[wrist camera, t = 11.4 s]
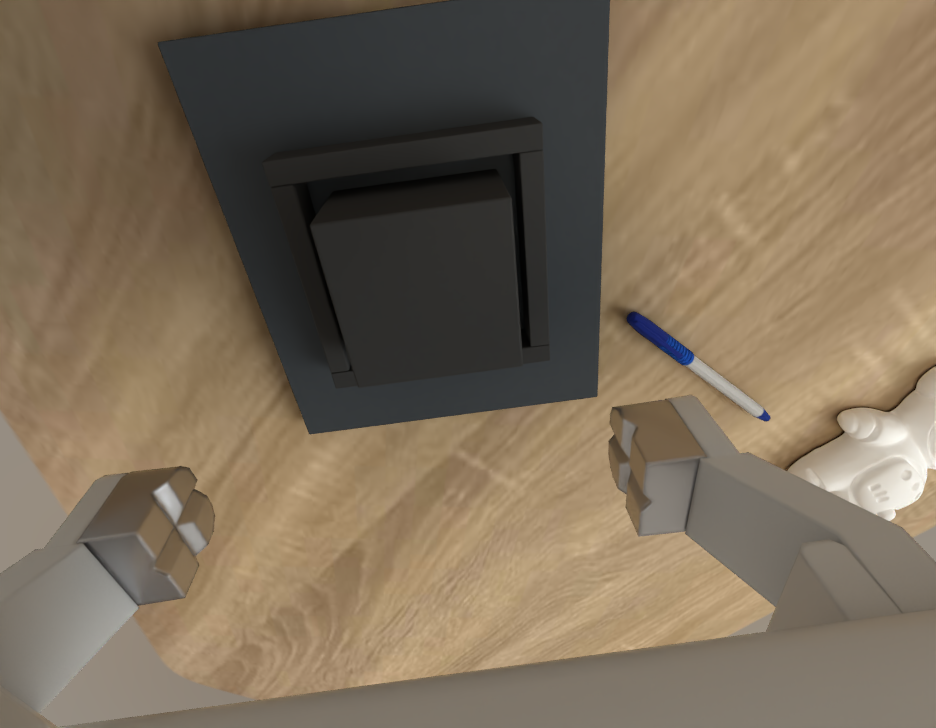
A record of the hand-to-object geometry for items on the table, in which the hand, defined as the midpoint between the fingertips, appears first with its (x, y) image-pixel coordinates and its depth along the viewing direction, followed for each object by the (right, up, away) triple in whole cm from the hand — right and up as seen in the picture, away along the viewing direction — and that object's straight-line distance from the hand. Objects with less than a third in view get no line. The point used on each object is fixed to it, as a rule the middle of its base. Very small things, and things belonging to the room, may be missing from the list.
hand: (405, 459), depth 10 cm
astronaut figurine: (+25, -2, +18) cm, 31 cm away
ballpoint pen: (+13, +2, +15) cm, 19 cm away
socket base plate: (-1, +7, +11) cm, 13 cm away
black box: (0, +6, +10) cm, 12 cm away
